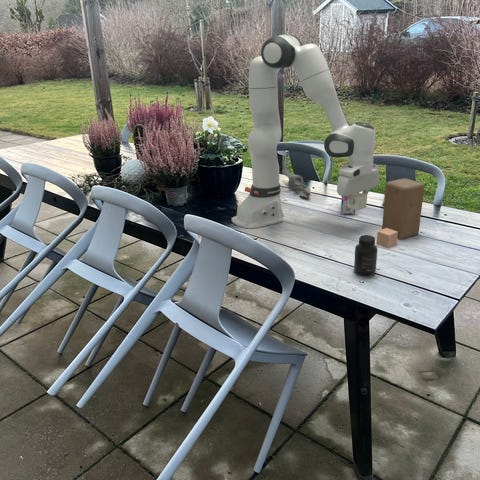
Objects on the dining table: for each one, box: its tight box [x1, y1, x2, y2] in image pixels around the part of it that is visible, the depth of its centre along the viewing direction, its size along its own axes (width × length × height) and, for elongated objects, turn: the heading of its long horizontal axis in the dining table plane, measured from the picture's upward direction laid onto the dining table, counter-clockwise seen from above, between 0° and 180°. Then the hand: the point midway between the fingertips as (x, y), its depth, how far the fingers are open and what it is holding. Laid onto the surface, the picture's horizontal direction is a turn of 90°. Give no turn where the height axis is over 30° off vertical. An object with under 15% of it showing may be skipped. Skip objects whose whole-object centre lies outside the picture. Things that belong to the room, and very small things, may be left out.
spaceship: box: [282, 168, 312, 198], centre depth 231 cm, size 8×35×8 cm
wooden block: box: [381, 177, 425, 240], centre depth 174 cm, size 10×10×20 cm
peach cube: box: [375, 228, 398, 249], centre depth 168 cm, size 5×5×5 cm
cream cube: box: [347, 192, 368, 211], centre depth 180 cm, size 5×5×5 cm
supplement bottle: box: [353, 234, 378, 277], centre depth 148 cm, size 7×7×12 cm
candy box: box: [340, 196, 356, 215], centre depth 201 cm, size 14×6×16 cm, turn 168°
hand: (357, 202), depth 180 cm, fingers closed on cream cube, 5 cm apart
